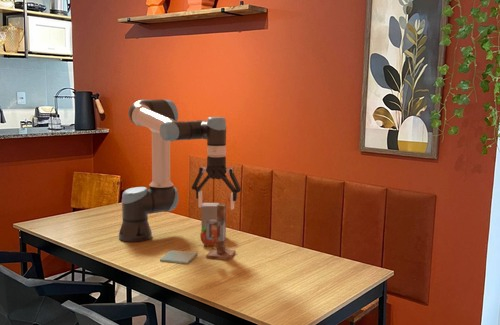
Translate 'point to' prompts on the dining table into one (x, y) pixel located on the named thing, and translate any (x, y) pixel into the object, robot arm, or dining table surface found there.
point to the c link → (222, 229)
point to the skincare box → (208, 212)
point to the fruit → (208, 242)
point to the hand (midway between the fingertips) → (216, 207)
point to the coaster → (178, 257)
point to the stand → (220, 250)
